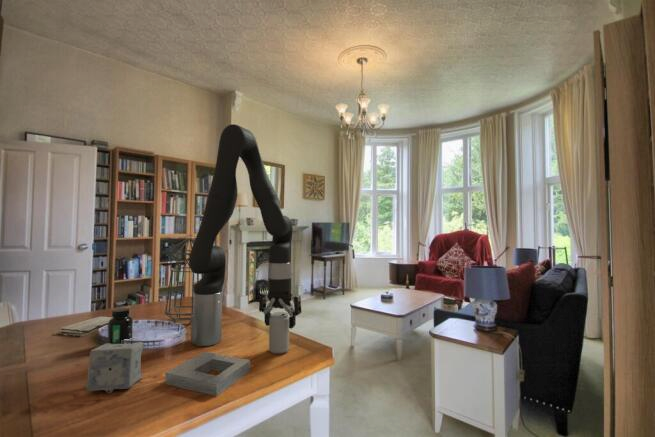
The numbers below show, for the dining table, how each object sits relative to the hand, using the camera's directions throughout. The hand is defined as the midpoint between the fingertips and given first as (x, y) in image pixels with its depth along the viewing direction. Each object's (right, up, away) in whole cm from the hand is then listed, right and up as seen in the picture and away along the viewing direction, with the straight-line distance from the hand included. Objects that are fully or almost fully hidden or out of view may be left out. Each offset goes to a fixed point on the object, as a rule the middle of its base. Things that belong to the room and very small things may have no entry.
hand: (279, 326), depth 102 cm
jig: (-16, -8, -17) cm, 25 cm away
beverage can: (0, -8, 0) cm, 8 cm away
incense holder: (-38, -8, -22) cm, 45 cm away
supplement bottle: (-54, -8, +3) cm, 55 cm away
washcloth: (-76, -8, +20) cm, 79 cm away
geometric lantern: (-43, -8, +30) cm, 53 cm away
